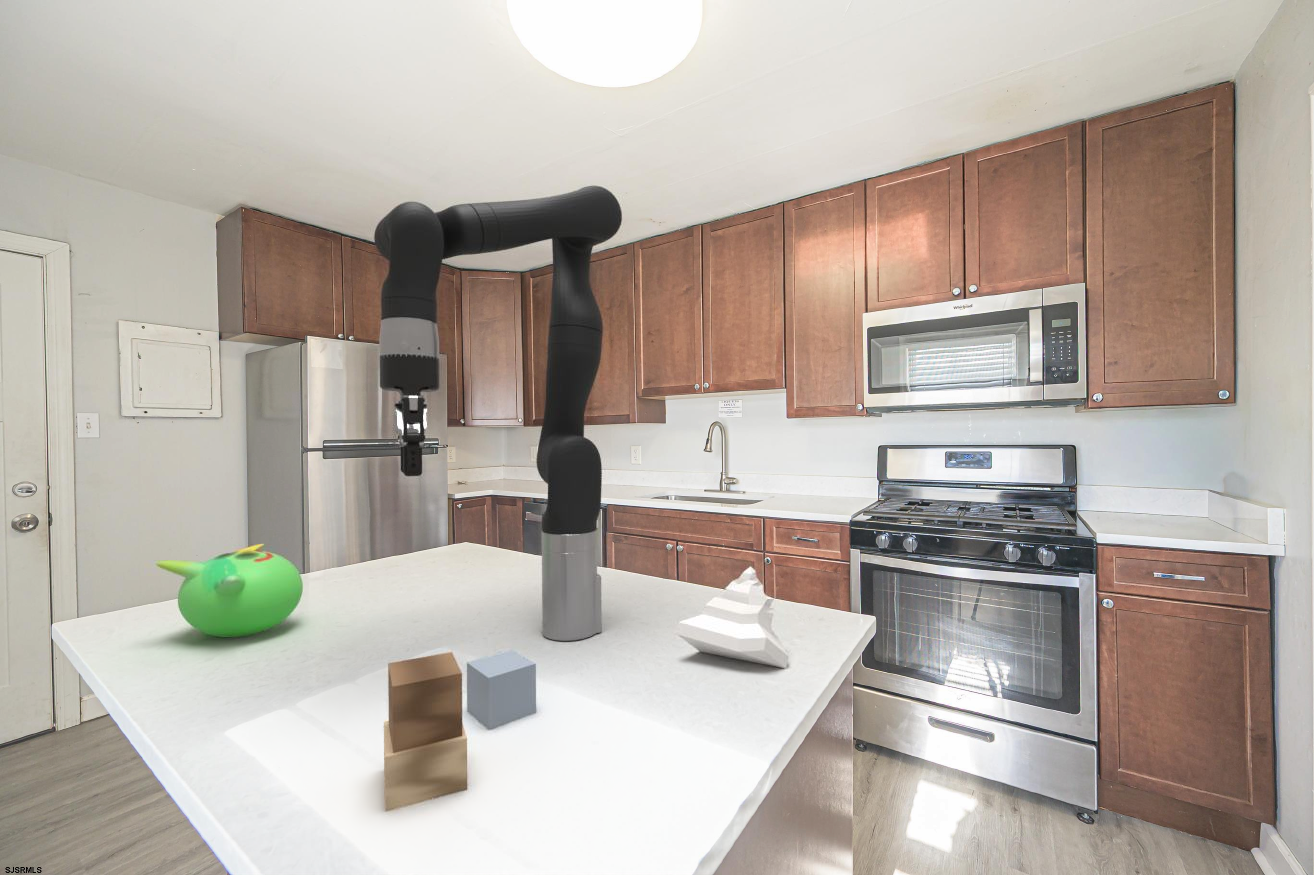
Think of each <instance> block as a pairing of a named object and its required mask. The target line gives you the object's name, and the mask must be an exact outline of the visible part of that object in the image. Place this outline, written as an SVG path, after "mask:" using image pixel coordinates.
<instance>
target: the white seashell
mask: <svg viewBox="0 0 1314 875" xmlns="http://www.w3.org/2000/svg"><path fill="white" fill-rule="evenodd" d="M724 590H725V591H726V593H724V594H719V595H716V596H714V597H713V598H711V600H709V601H708V602H707V603H706V604H705V606H704V608H703V612H702V614H699V615H697V616H694V617H690V618H687V619H684V620H680V621H679V622H678V626H677V631H676V635H677V636H679V638H681V639H682V640H684V641H685V642H687V643H688V644H689V645H691V646H692V647H693V648H695V649H696V650H697V651H698V652H700V653H706V654H710V655H716V656H720V657H725V658H731V659H735V660H740V661H746V662H751V663H756V664H762V665H765V666H766V665H767V666H772V667H776V668H782V669H787V668H788V667H787V666H788V661H789V654H788V653H787V651H786V649H785V646H784V645H783V643H782V641H781V639H780V637H779V636H778V635H777V634H776V633H775V631H773V629H772V623H773V618H774V617H773V616H774V612H775V611H774V610H775V609H774V608H772V607H771V604H772V603H773V601H775V598H774V597H770V596H768V595H767V594H766V593H765V592H764V585H763V583H761V581H760V579H759V578H758V577H757V571H756V570H755V569H754V568H753V567H752V566H751V565H750V566H749V567H748V568H747V569H746V570H744V571H743V572H742V573H741V575H740V576H739V577H738V578H736V579H734V580H732V581H731V582H730V583H729V584H728V585H727V586H726V587H725V588H724Z"/></svg>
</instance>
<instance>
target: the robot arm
mask: <svg viewBox="0 0 1314 875" xmlns="http://www.w3.org/2000/svg"><path fill="white" fill-rule="evenodd" d="M622 214H623V213H622V207H621V204H620V203H619V201H618V199H617V197H616V196H615V195H614V194H613V193H612V192H611V191H610V190H609V189H607V188H605V187H603V186H599V185H588V186H584V187H581V188H579V189H577V190H573V191H571V192H565V193H563V194H557V195H551V196H547V197H539V198H538V197H537V198H531V199H530V198H529V199H520V200H519V199H518V200H505V201H504V200H503V201H489V202H487V201H486V202H472V203H471V202H470V203H460V204H454V205H452V206H448V207H447V208H444V209H441V211H436V212H434V211H433V210H432V209H431V208H430V207H429V206H427V205H425V204H424V203H421V202H417V201H406V202H403V203H400V204H398V205H396V206H395V207H394V208H393V209H392V210H391V211H390V212H388V213H387V214H386V215H385V216H384V217H383V218H382V219H380V221H379V222H378V224H377V225H376V227H375V231H374V234H373V239H374V245H375V248H376V249H377V251H378V252H379V254H380V255H381V257H383V258H384V259H385V260H386V261H388V262H389V266H388V273H387V274H386V277H385V279H384V281H383V283H382V286H381V291H380V293H381V295H380V300H381V301H380V317H381V319H380V320H381V322H380V331H379V338H378V339H379V340H378V341H379V344H378V346H379V350H378V351H379V353H378V354H379V359H378V360H379V361H378V362H379V387H380V389H382V390H384V391H387V392H388V391H389V392H398V393H399V395H400V399H399V400H398V402H397V403H394V407H393V415H394V418H395V433H396V434H397V440H398V441H397V442H398V443H397V444H398V445H399V447H400V449H399V450H400V452H399V453H400V472H401V473H403V475H404V476H406V477H419V476H421V475H422V474H423V447H424V444H425V440H426V435H425V434H426V432H427V419H426V418H427V415H428V414H427V413H428V405H427V403H425V402H426V400H425V397H424V396H425V395H423V394H422V393H429V392H431V393H432V392H437V391H439V389H440V338H439V332H438V308H437V303H438V302H437V300H438V299H437V290H438V284H439V281H440V275H441V271H442V270H441V269H442V264H443V261H444V260H446V259H451V258H453V257H458V256H460V257H461V256H466V255H467V256H468V255H469V256H470V255H478V254H479V255H480V254H486V253H487V254H488V253H494V252H501V251H506V250H511V249H517V248H519V247H523V246H528V245H532V244H534V243H538V242H543V241H548V240H551V248H552V283H551V295H550V296H551V298H550V315H549V323H548V334H547V335H548V336H547V353H546V354H547V355H546V368H545V369H546V372H545V373H546V374H545V403H544V413H543V418H542V419H543V420H542V424H541V430H540V436H539V440H538V448H537V453H536V469H537V471H538V475H539V476H540V478H541V479H542V480H543V482H544V483H545V484H547V501H546V502H547V505H546V508H545V511H544V512H543V514H542V516H541V601H542V602H541V603H542V604H541V605H542V606H541V608H542V609H541V610H542V611H541V624H542V630H541V631H542V635H543V636H544V637H545V638H547V639H548V640H549V639H550V640H554V641H561V642H562V641H565V642H566V641H579V640H582V639H588V638H589V637H591V636H594V635H596V634H599V633H602V629H603V628H602V625H603V624H602V622H603V621H602V618H603V617H602V616H603V615H602V605H603V604H602V576H601V575H600V574H599V573H598V547H597V546H598V538H597V537H598V534H597V533H598V525H597V524H598V518H599V516H600V513H601V508H602V486H603V485H602V481H603V480H602V479H603V478H602V477H603V473H602V472H603V471H602V470H603V468H602V458H601V454H600V451H599V448H597V446H596V445H595V443H594V442H593V441H591V440H590V439H589V438H586V437H585V415H586V408H587V404H588V400H589V397H590V394H591V392H592V389H593V387H594V383H595V380H596V379H597V378H596V377H597V374H598V372H599V367H600V363H601V360H602V359H601V357H602V350H603V348H602V347H603V346H602V345H603V332H604V330H603V329H604V325H603V324H604V323H603V318H602V315H601V310H600V307H599V304H598V302H597V300H596V298H595V295H594V293H593V289H592V286H591V285H592V284H591V279H590V278H591V277H590V270H591V269H590V268H591V260H592V253H593V252H592V251H593V247H595V246H597V245H600V244H603V243H605V242H607V241H608V240H610V239H612V238H613V237H614V236H616V235H617V232H619V230H620V228H621V225H622V220H623V215H622ZM421 394H422V395H421Z"/></svg>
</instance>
